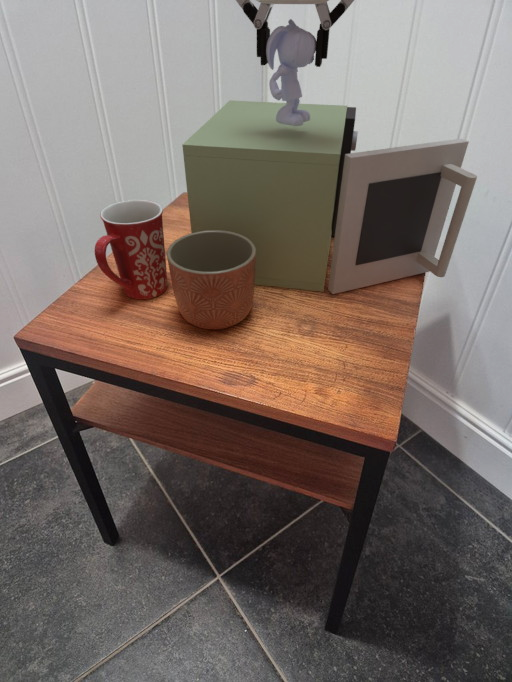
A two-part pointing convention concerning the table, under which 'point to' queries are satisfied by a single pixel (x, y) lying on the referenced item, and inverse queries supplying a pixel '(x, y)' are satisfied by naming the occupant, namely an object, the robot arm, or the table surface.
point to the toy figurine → (290, 69)
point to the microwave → (272, 185)
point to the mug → (134, 247)
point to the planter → (213, 277)
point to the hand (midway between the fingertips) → (291, 63)
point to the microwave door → (398, 213)
